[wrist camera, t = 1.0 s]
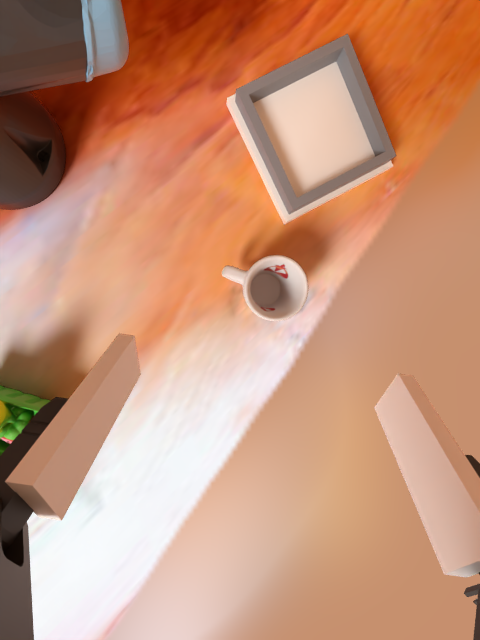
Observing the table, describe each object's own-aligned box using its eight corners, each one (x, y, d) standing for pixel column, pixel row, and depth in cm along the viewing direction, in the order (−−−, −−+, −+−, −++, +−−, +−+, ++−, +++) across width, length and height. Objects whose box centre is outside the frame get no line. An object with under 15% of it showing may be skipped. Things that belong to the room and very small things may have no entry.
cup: (212, 298, 37) (211, 299, 29) (231, 247, 37) (235, 234, 29) (278, 323, 39) (295, 330, 31) (297, 274, 38) (319, 269, 30)
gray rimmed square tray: (226, 104, 35) (227, 85, 32) (338, 48, 36) (350, 24, 32) (284, 224, 37) (290, 218, 34) (387, 170, 38) (403, 158, 35)
